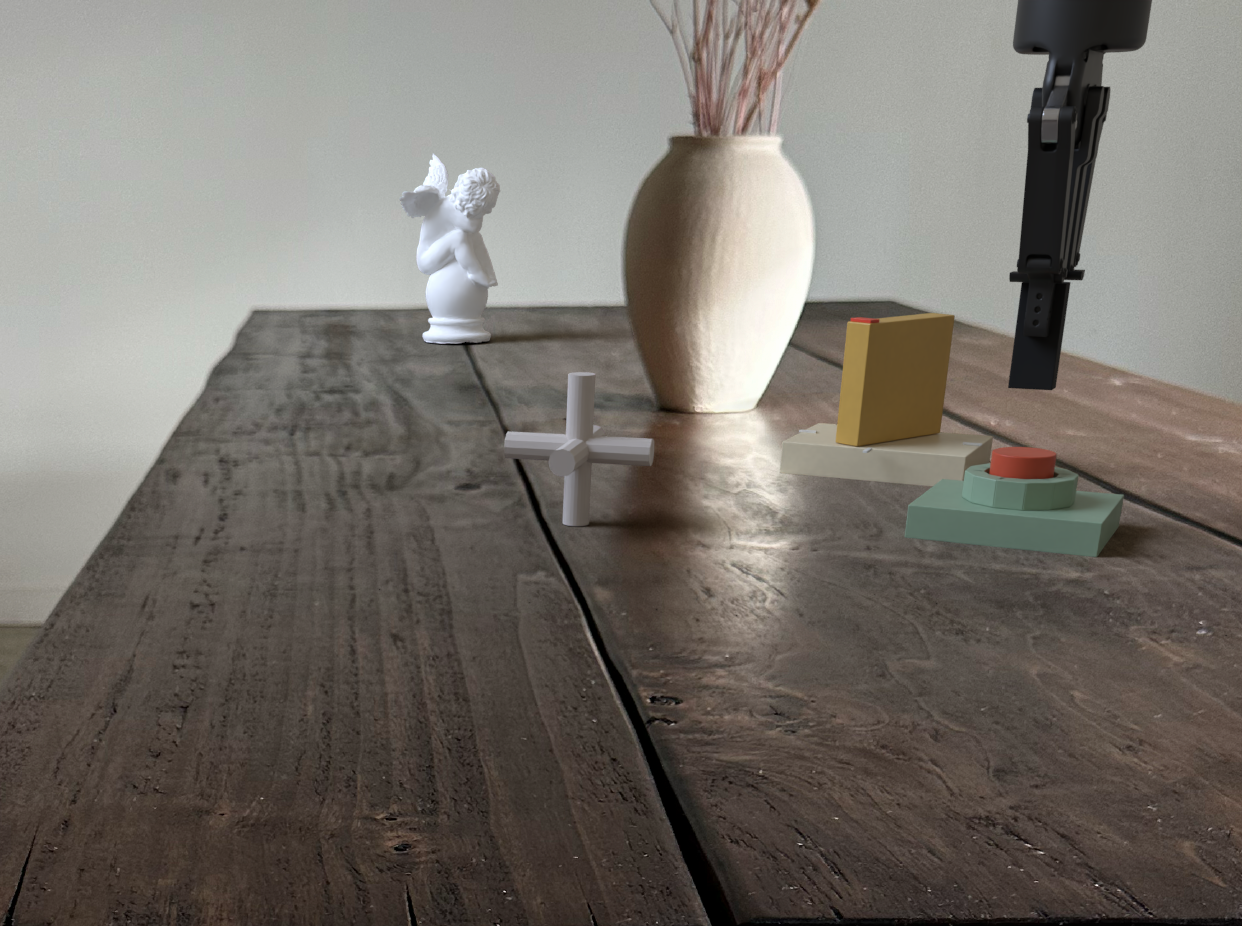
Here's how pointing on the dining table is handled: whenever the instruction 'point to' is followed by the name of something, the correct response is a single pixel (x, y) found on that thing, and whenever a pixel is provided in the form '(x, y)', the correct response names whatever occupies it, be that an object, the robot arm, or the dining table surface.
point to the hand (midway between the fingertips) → (1031, 387)
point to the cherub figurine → (454, 251)
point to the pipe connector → (578, 448)
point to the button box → (1016, 513)
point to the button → (1023, 463)
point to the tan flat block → (893, 378)
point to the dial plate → (884, 457)
